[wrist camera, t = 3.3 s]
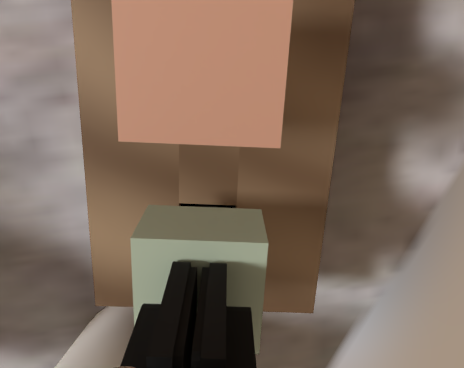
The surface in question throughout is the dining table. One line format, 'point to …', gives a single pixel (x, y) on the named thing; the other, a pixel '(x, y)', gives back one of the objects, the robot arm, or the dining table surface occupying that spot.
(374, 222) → the dining table surface
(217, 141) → the terracotta key
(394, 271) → the dining table surface
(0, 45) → the dining table surface
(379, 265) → the dining table surface
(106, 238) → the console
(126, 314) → the foam cup
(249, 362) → the robot arm
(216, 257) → the sage key
